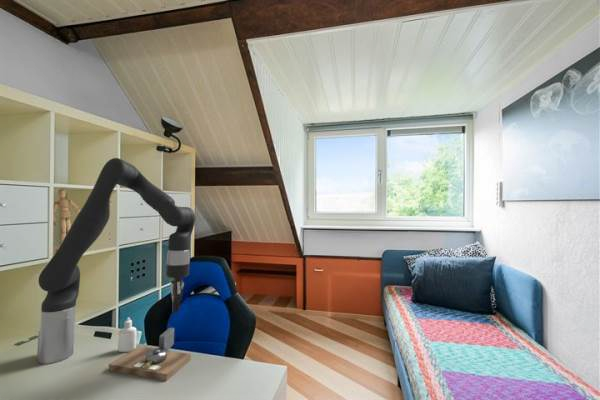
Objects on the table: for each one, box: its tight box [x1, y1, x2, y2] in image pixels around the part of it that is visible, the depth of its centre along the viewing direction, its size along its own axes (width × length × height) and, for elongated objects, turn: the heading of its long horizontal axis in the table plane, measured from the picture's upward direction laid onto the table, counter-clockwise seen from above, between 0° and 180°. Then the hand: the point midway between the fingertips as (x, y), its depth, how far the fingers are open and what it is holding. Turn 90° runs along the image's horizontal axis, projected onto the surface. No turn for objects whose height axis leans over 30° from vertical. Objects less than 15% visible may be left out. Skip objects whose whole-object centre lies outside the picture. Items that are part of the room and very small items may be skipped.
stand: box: [108, 345, 192, 381], centre depth 91 cm, size 22×12×2 cm, turn 77°
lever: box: [145, 327, 175, 367], centre depth 93 cm, size 6×16×6 cm, turn 178°
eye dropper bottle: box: [117, 317, 138, 353], centre depth 101 cm, size 4×6×12 cm
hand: (175, 311), depth 95 cm, fingers closed
